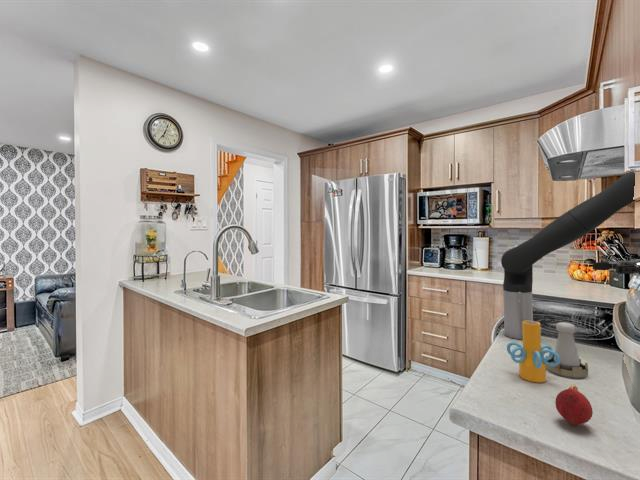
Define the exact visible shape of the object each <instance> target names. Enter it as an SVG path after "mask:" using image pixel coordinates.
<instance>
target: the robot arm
mask: <svg viewBox="0 0 640 480" xmlns="http://www.w3.org/2000/svg"><path fill="white" fill-rule="evenodd" d="M634 186H635V173H634V172H629V173H627V172H625V173H624V174H623V175H622V176H621V177H619V178H618V179H617V180H615V181H614V182H613V183H612V184H610V185H609V186H608V187H606V188H605V189H604V190H602V191H600V192H599V193H597V194H596V195H594V196H592V197H589V198H588V199H586V200H585V201H583V202H581V203H579V204H577V205H576V206H574V207H573V208H571V209H569V210H567V211H566V212H564V213H563V214H561V215H560V216H558V217H556V218H555V219H554V220H553V221H551V222H549V224H547V225H546V226H545V227H544V228H542V229H541V230H540V231H538V232H537V233H536V234H534V236H533V237H531V238H529V239H528V240H526V241H524V242H522V243H521V244H518V245H516V246H515V247H513V248H510V249H508V250H506V251H505V252H504V253H503V254H502V256H501V259H500V262H501V266H502V269H503V270H504V272H503V274H504V275H503V281H502V283H503V285H502V286H503V289H502V290H503V327H504V328H503V330H504V331H503V332H504V335H505V336H506V337H507V338H511V339H515V340H516V339H517V340H523V328H522V321H526V320H528V321H534V317H533V315H534V311H533V310H534V309H533V308H534V305H533V281H534V279H533V278H534V277H533V275H534V274H533V271H534V269H533V266H534V264H535V263H537V262H538V261H539V260H541V259H543V258H544V257H546V256H547V255H549V254H550V253H553V252H555V251H557V250H559V249H561V248H564V247H566V246H567V245H569V244H571V243H573V242H575V241H577V240H579V239H580V238H582V237H584V236H586V235H587V234H590V233H591V232H592V231H593V230H595V229H596V228H598V227H599V226H601V225H602V224H604V222H606V221H607V220H608V219H610V218H611V217H612V216H614V214H616V213H617V212H619V211H620V210H622V209H623V208H625V207H626V206H628V205H631V204H632V203H634V202H637V200H633V197H634ZM592 270H595V271H609V272H610V271H615V273H616V274H619V275H635V276H640V260H636V259H632V260H616V261H615V260H605V261H604V262H603V261H602V262H596V261H594V262H592Z"/></svg>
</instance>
